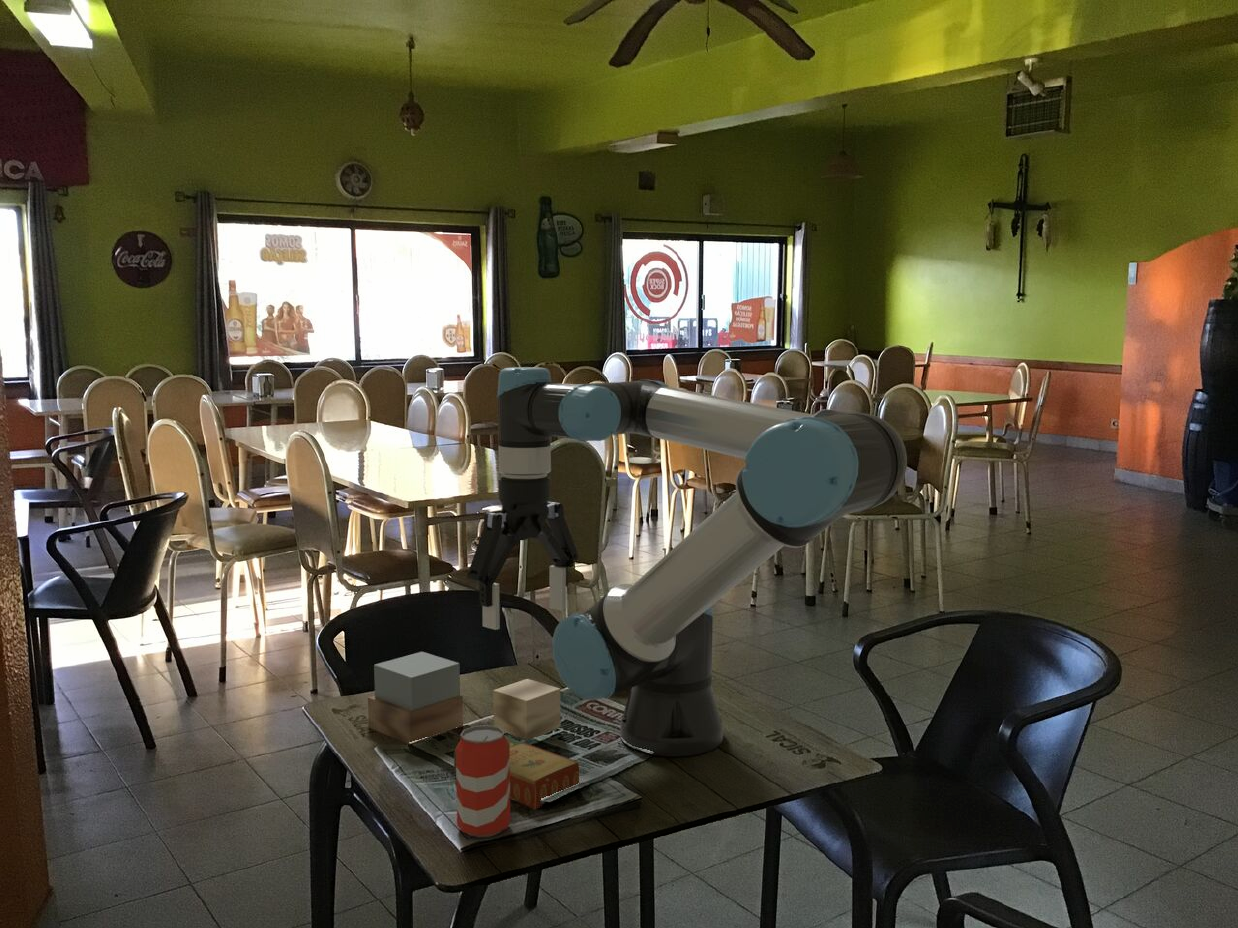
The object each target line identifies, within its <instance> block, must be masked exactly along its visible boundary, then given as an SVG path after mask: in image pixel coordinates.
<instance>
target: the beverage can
mask: <svg viewBox="0 0 1238 928" xmlns="http://www.w3.org/2000/svg"><path fill="white" fill-rule="evenodd" d="M504 733H505V732H504V731H503V730H502V729H501V728H500V727H495V726H494V725H489V724H487V725H485V724H483V725H473V726H471V727H468V728H465V729H463V730H462V732H461V733H460V740H459V741H458V743H457V745H456V747H455V749H456V776H455V779H456V781H455V782H456V783H455V784H456V786H455V788H456V789H455V790H456V826H457V827H458V828H459V829H460V830H461V831H462V832H463V833H465V834H467V835H469V836H470V837H471V836H472V837H475V838H479V839H480V838H489V837H493V836H495V835H499V834H501V833H502V832H503V831H505V830H507V829H508V827H509V825H510V823H511V799H510V746H509V743H508V741H507V739H506V738H505V736H504Z"/></svg>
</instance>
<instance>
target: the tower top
mask: <svg viewBox="0 0 1238 928" xmlns="http://www.w3.org/2000/svg"><path fill="white" fill-rule="evenodd" d="M373 668H374V669H373V671H374V672H373V673H374V675H373V676H374V678H373V679H374V695H375V697H376V698H379V699H382V700H384V701H387V702H390V703H392V704H395V705H398V706H400V707H403V708H406V709H408V710H411V711H414V710H417V709H420V708H423V707H426V706H429V705H432V704H435V703H438V702H441V701H444V700H448V699H451V698H454V697H457V696H460V695H461V677H460V674H461V673H460V670H461V669H460V668H461V667H460V663H459V662H457V661H454V660H450V659H448V658H444V657H440V656H437V655H434V654H431V653H428V652H424V651H419V652H415V653H412V654H409V655H405V656H402V657H401V656H400V657H397V658H393V659H391V660H390V659H389V660H386V661H382V662H379V663H376V664H374V665H373Z"/></svg>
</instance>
